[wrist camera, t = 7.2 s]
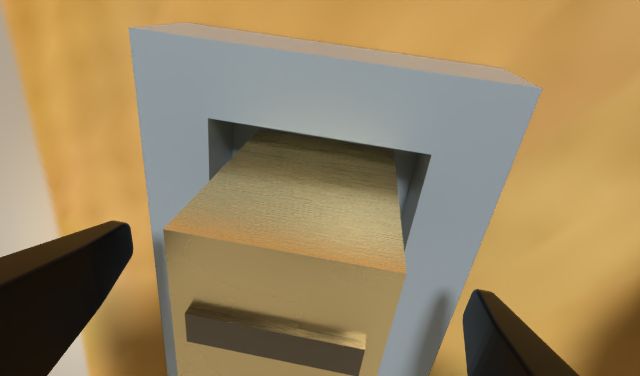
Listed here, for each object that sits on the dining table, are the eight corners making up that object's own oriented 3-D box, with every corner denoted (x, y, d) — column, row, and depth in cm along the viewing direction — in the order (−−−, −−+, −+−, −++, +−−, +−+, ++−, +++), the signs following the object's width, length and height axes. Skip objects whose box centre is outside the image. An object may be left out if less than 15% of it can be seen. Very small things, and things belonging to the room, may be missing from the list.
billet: (393, 150, 12) (407, 281, 6) (369, 260, 14) (363, 432, 8) (258, 129, 12) (157, 235, 6) (254, 239, 14) (174, 391, 8)
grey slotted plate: (185, 22, 12) (128, 27, 9) (503, 68, 11) (542, 88, 8) (203, 423, 22) (179, 481, 19) (369, 461, 21) (368, 526, 18)
